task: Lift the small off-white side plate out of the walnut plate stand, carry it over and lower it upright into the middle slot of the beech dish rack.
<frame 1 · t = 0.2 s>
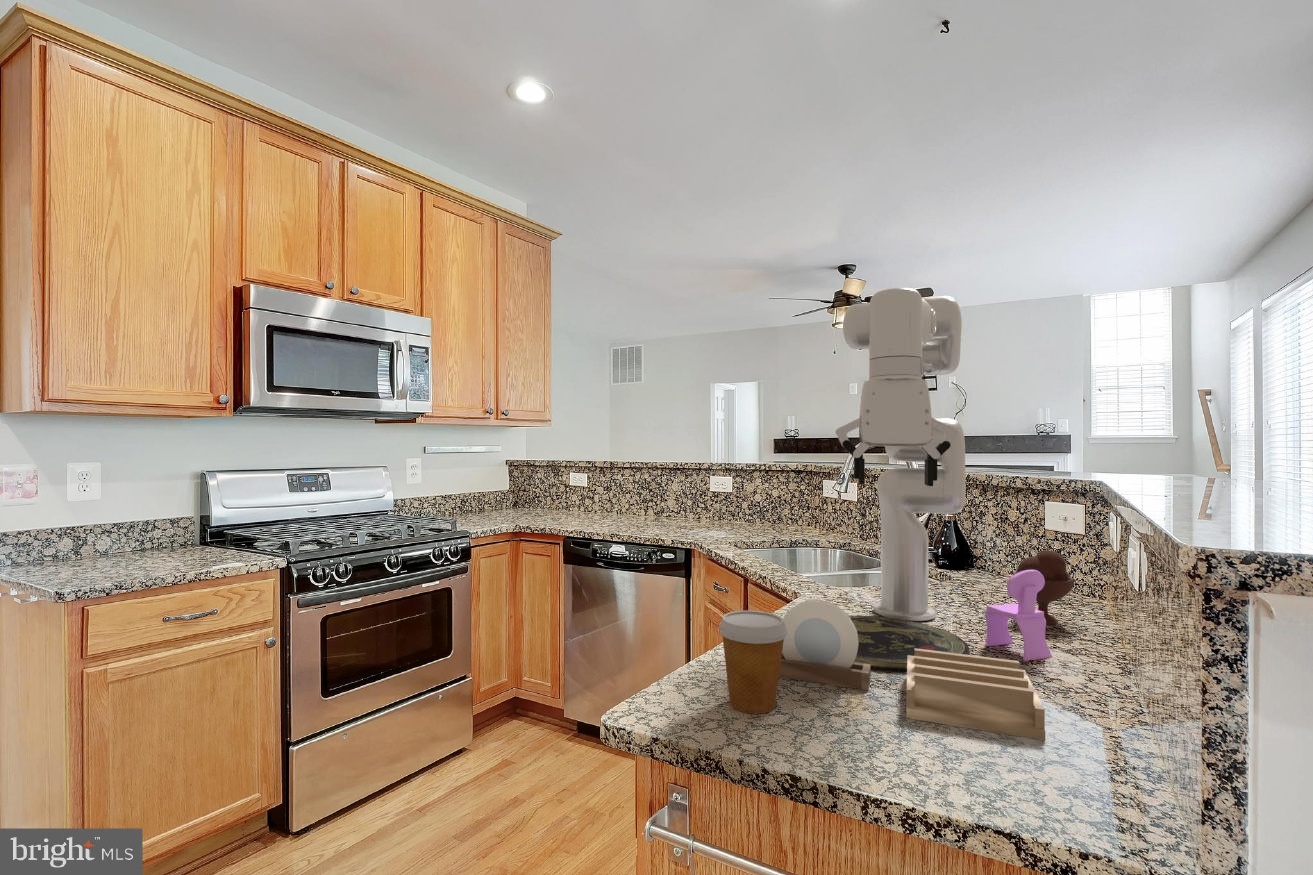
hand: (894, 484, 94), 31 cm above the worktop, tool pointing down, fingers open, 9 cm apart
toy chair: (1016, 651, 112), on the worktop
disposable coffee cup: (752, 705, 87), on the worktop
side plate: (818, 639, 98), point 6 cm above the worktop
decorative plate: (879, 646, 115), on the worktop
dish rack: (968, 705, 88), on the worktop
plate stand: (817, 677, 98), on the worktop
ice cream bowl: (1042, 622, 131), on the worktop
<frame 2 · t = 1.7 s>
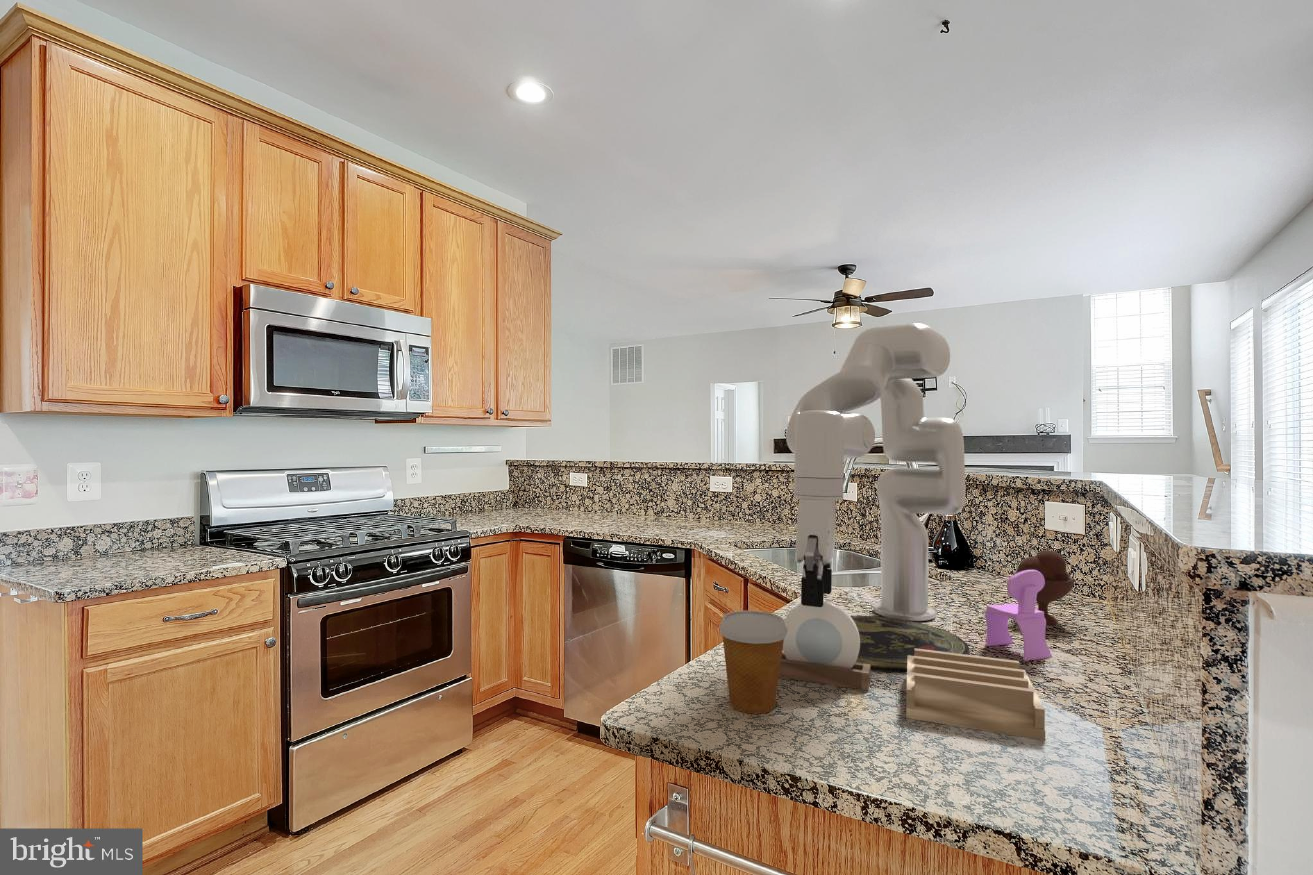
hand: (816, 599, 97), 12 cm above the worktop, tool pointing down, fingers open, 9 cm apart
nothing on the worktop moved.
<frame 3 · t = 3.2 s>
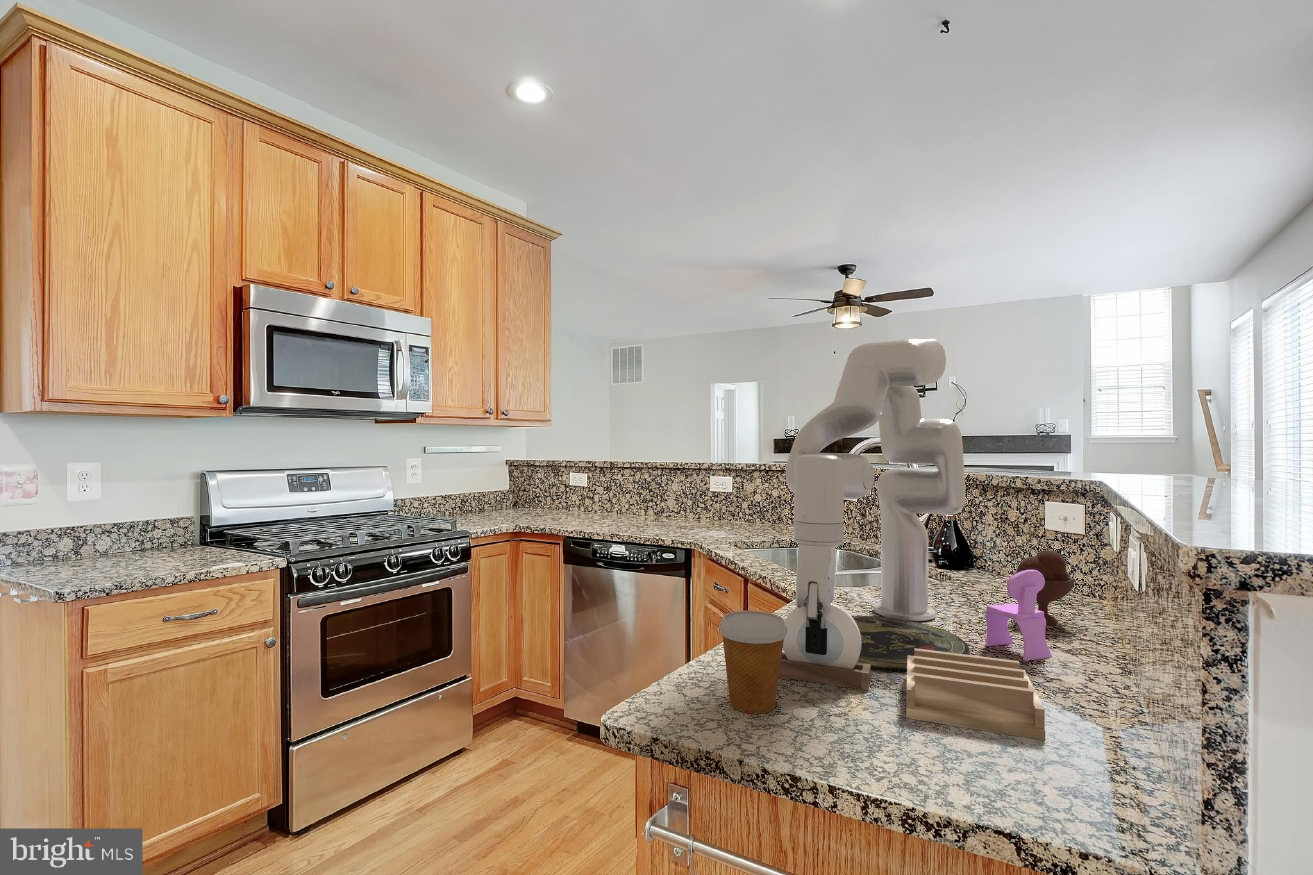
hand: (817, 650, 98), 4 cm above the worktop, tool pointing down, fingers closed on side plate, 1 cm apart
side plate: (820, 639, 97), point 6 cm above the worktop, tilted 6°, touching gripper
everything else where it was.
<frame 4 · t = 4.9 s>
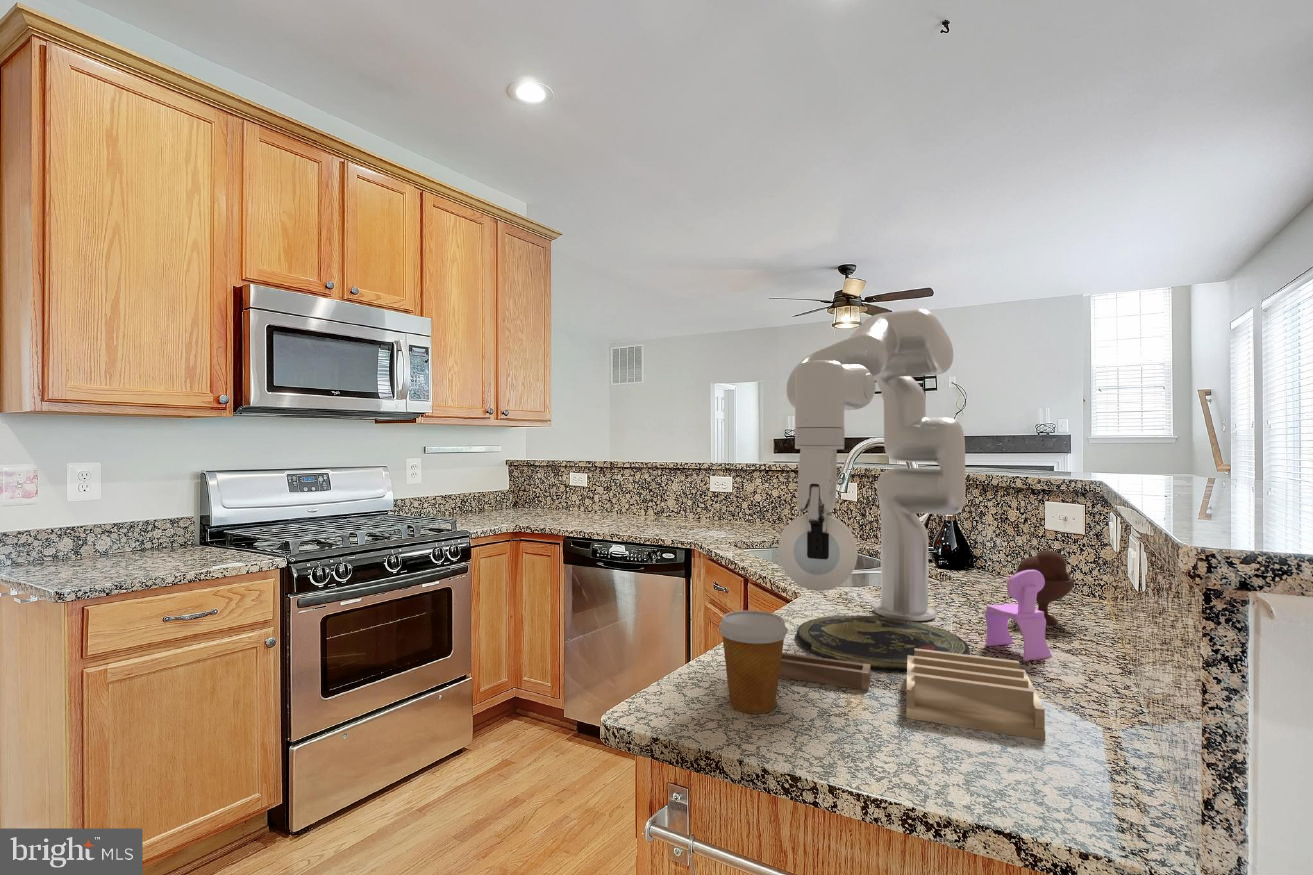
hand: (818, 556, 98), 19 cm above the worktop, tool pointing down, fingers closed on side plate, 1 cm apart
side plate: (817, 551, 98), point 20 cm above the worktop, tilted 17°, touching gripper
everything else where it was.
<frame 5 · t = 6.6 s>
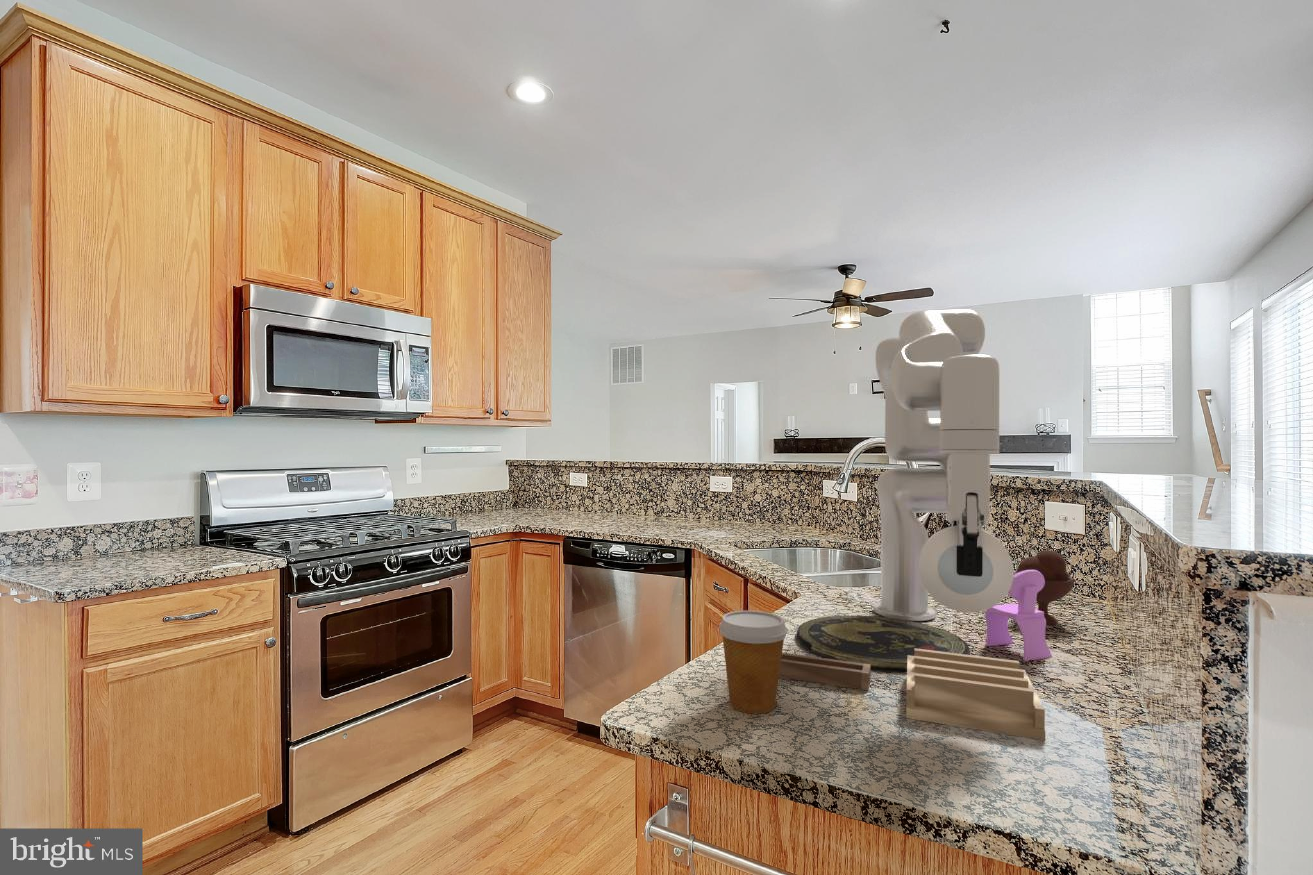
hand: (968, 573, 88), 19 cm above the worktop, tool pointing down, fingers closed on side plate, 1 cm apart
side plate: (964, 568, 88), point 19 cm above the worktop, tilted 43°, touching gripper
everything else where it was.
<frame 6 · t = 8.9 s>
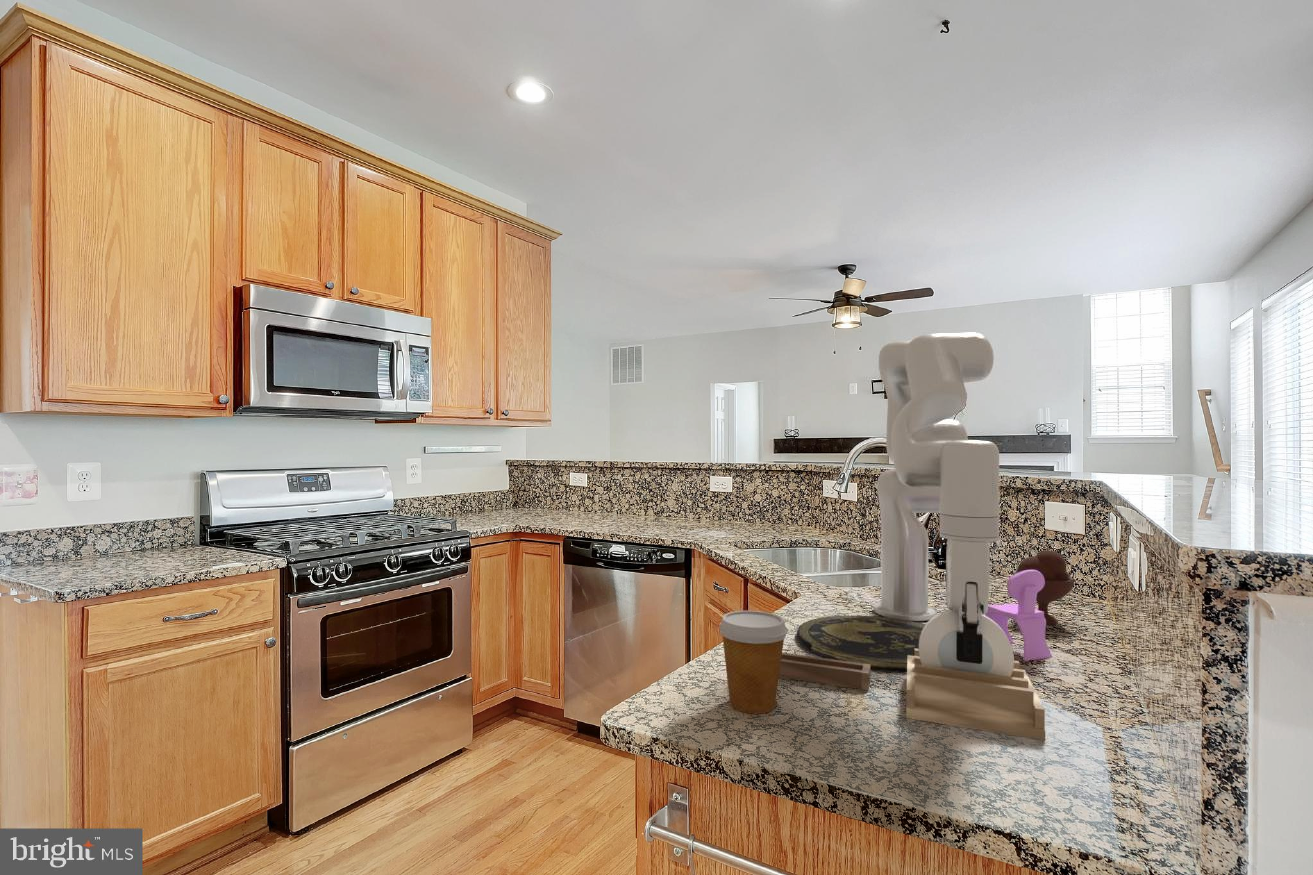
hand: (968, 657, 88), 7 cm above the worktop, tool pointing down, fingers closed
side plate: (964, 652, 88), point 7 cm above the worktop, tilted 75°, touching dish rack
everything else where it was.
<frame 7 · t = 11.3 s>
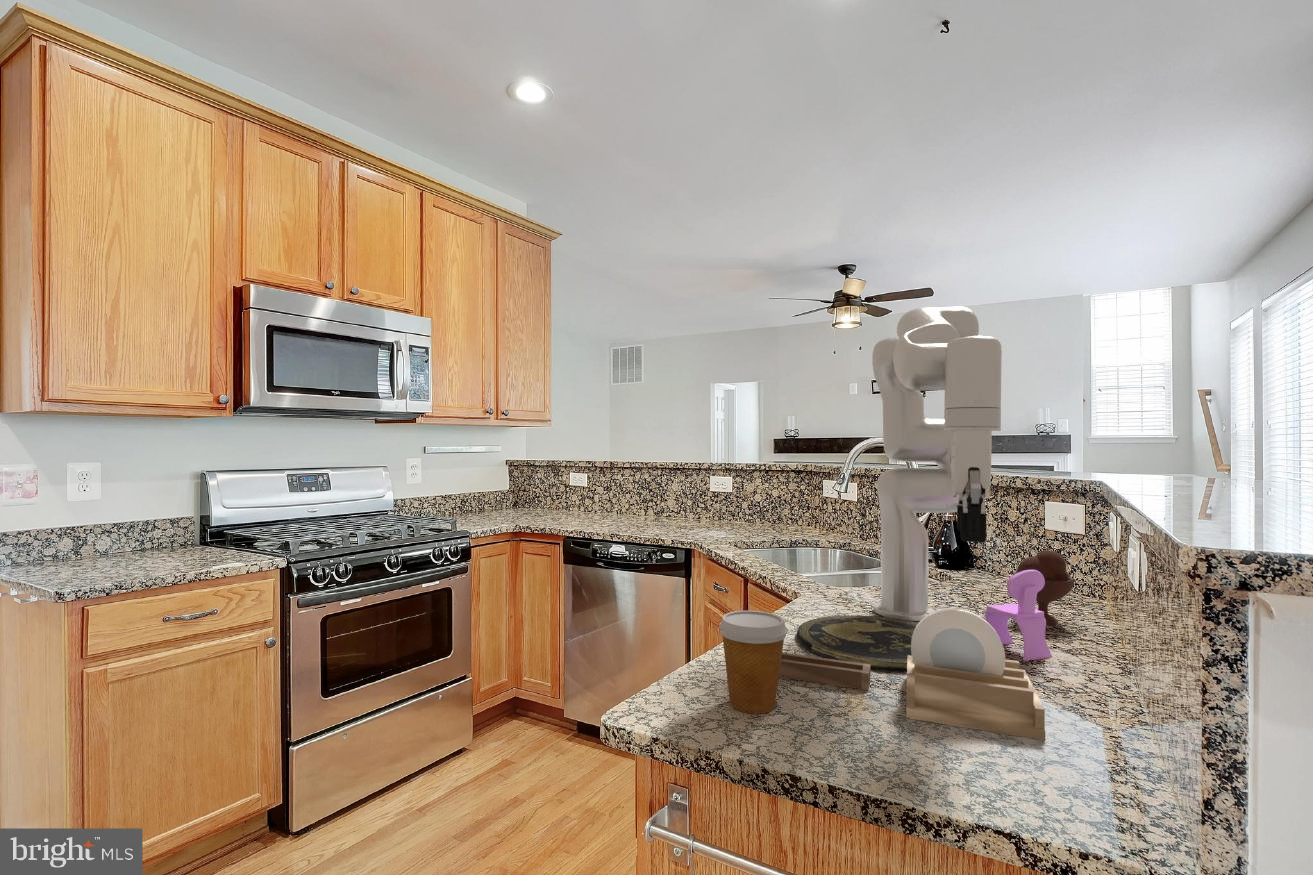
hand: (970, 536, 93), 23 cm above the worktop, tool pointing down, fingers open, 9 cm apart
side plate: (956, 651, 89), point 7 cm above the worktop, tilted 65°, touching dish rack
everything else where it was.
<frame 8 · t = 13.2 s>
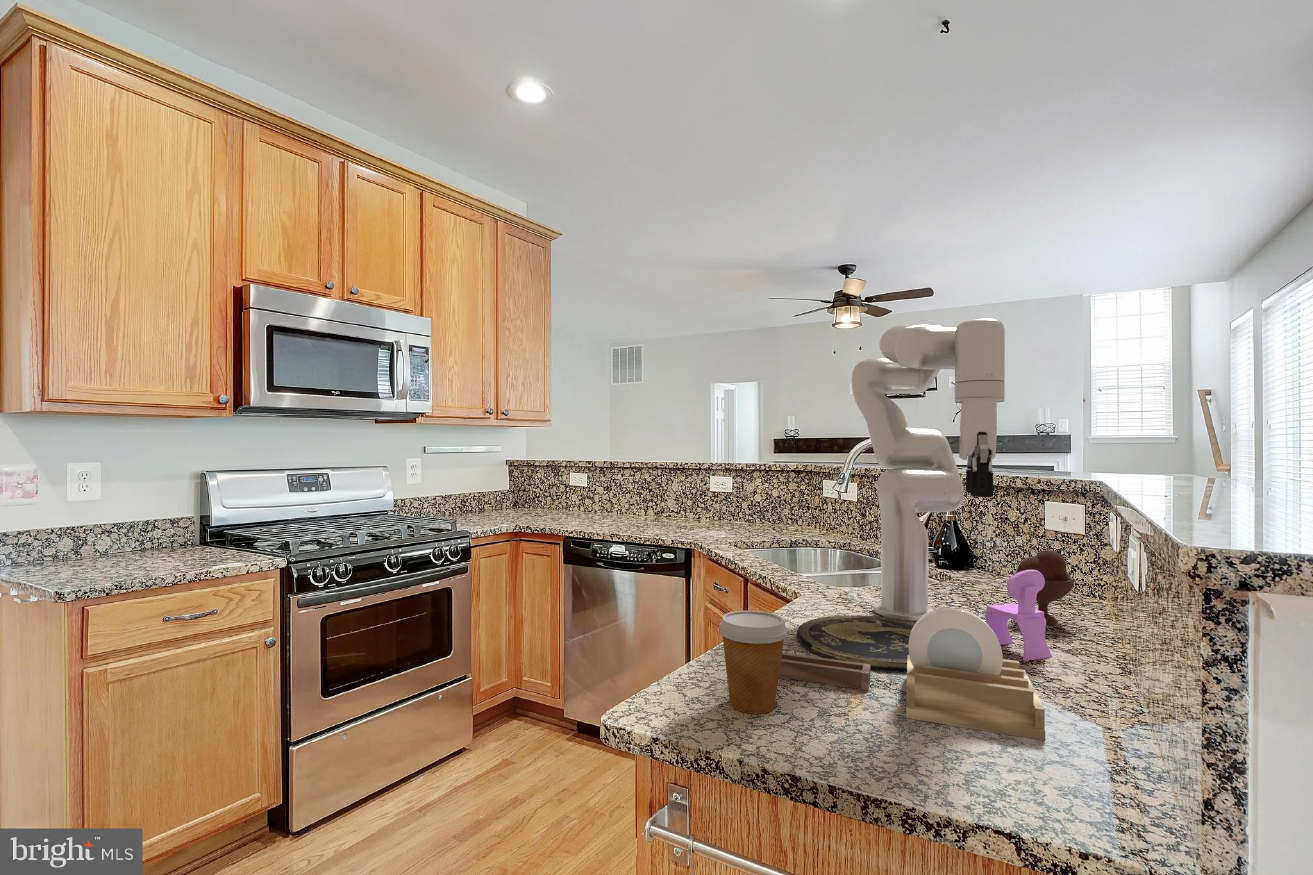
hand: (978, 494, 106), 28 cm above the worktop, tool pointing down, fingers open, 9 cm apart
nothing on the worktop moved.
at the end: side plate inside the target area on the dish rack (1.7 cm from its centre), point 7.2 cm above the dish rack's base; side plate 1.8 cm from the dish rack (horizontally); the gripper is holding nothing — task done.
